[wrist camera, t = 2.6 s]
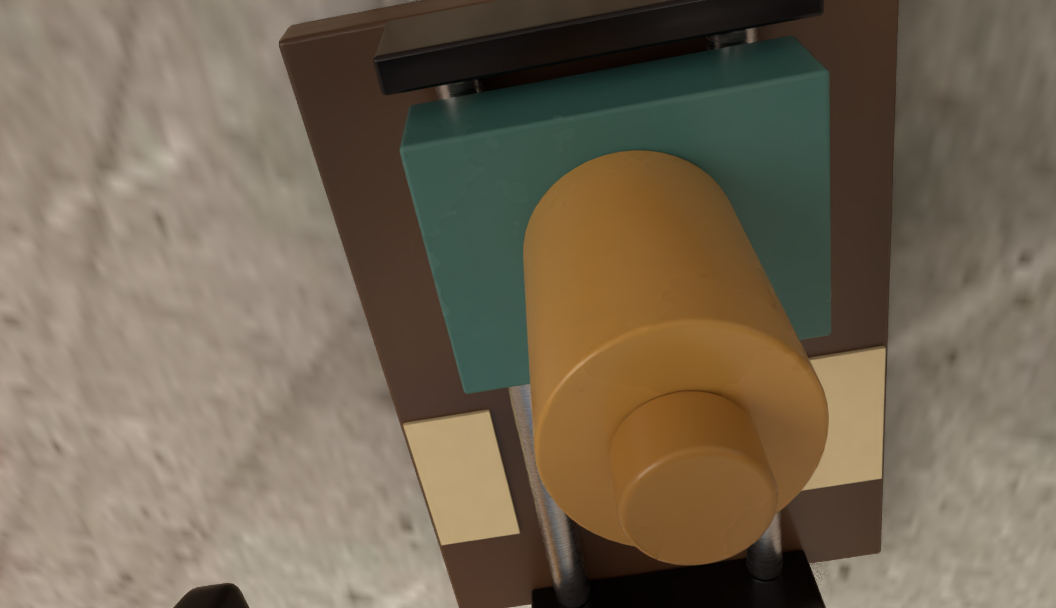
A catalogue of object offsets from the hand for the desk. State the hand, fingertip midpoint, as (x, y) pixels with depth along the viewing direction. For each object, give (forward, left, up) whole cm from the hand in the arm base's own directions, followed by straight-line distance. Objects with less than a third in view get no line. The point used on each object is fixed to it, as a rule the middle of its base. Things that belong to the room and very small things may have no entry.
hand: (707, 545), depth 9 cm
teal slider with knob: (0, 0, -8) cm, 8 cm away
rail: (0, +4, -10) cm, 11 cm away
